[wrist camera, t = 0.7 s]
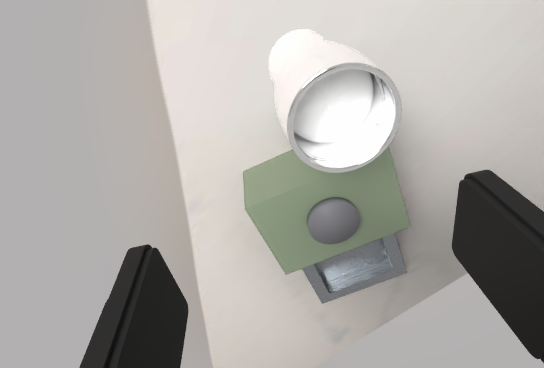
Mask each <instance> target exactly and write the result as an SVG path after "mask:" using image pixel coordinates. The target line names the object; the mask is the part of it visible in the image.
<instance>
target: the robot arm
mask: <svg viewBox="0 0 544 368" xmlns="http://www.w3.org/2000/svg"><path fill="white" fill-rule="evenodd" d="M452 249H453V252H454V255H455V256H456V258H457V259H458V260H459V262H460V263H461V264H462V266H463V267H464V268H465V269H466V271H467V272H468V273H469V274H470V276H471V277H472V278H473V280H474V281H475V282H476V284H477V285H478V286H479V288H480V289H481V290H482V292H483V293H484V294H485V295H486V297H487V298H488V299H489V300H490V302H491V303H492V305H493V306H494V307H495V308H496V310H497V311H498V312H499V314H500V315H501V316H502V318H503V319H504V320H505V322H506V323H507V324H508V325H509V327H510V328H511V329H512V331H513V332H514V333H515V335H516V336H517V337H518V339H519V340H520V341H521V342H522V344H523V345H524V346H525V348H526V349H527V350H528V351H529V353H530V354H531V355H532V356H533V357H535V358H537V359H541V360H542V361H543V362H544V212H543V211H542V210H541V209H539V208H538V207H537V206H535V205H534V204H533V203H532V202H530V201H529V200H528V199H526V198H525V197H524V196H523V195H521V194H520V193H519V192H518V191H516V190H515V189H514V188H512V187H511V186H510V185H509V184H507V183H506V182H505V181H503V180H502V179H501V178H500V177H498V176H497V175H496V174H494V173H493V172H492V171H490V170H483V171H479V172H474V173H469V174H467V175H466V176H465V177H464V180H461V181H460V183H459V190H458V198H457V206H456V215H455V223H454V231H453V240H452ZM187 318H188V304H187V301H186V299H185V298H184V296H183V294H182V292H181V290H180V289H179V287H178V285H177V283H176V281H175V279H174V278H173V276H172V274H171V272H170V270H169V269H168V267H167V265H166V263H165V261H164V259H163V258H162V256H161V254H160V252H159V250H158V249H157V248H152V247H151V246H150V245H143V246H139V247H134V248H130V249H129V250H128V251H127V254H126V256H125V259H124V261H123V264H122V266H121V269H120V271H119V274H118V276H117V279H116V281H115V284H114V286H113V289H112V291H111V294H110V296H109V299H108V300H107V302H106V303H105V306H104V308H103V311H102V313H101V315H100V318H99V320H98V323H97V325H96V328H95V330H94V333H93V335H92V338H91V340H90V343H89V345H88V348H87V350H86V353H85V355H84V358H83V360H82V363H81V365H80V368H180V365H181V359H182V351H183V345H184V338H185V331H186V324H187Z"/></svg>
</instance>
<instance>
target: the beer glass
mask: <svg viewBox="0 0 544 368" xmlns="http://www.w3.org/2000/svg"><path fill="white" fill-rule="evenodd" d="M268 70H269V74H270V77H271V80H272V81H273V83H274V85H275V86H274V102H275V107H276V112H277V116H278V119H279V121H280V124H281V126H282V129H283V131H284V133H285V134H286V136H287V138H288V140H289V142H290V144H291V147H292V149H293V150H294V152H295V153H296V155H297V156H298V157H299V158H300V159H301V160H302V161H303V162H304V163H306V164H307V165H309V166H310V167H312V168H314V169H317V170H320V171H324V172H330V173H341V172H348V171H352V170H355V169H358V168H361V167H363V166H365V165H367V164H368V163H370V162H372V161H373V160H374V159H376V158H377V157H378V156H379V155H380V154H382V153H383V152H384V150H385V149H386V148H387V147H388V146H389V144H390V143H391V141H392V140H393V138H394V136H395V134H396V132H397V130H398V127H399V124H400V120H401V111H402V108H401V99H400V95H399V92H398V90H397V87H396V85H395V84H394V82H393V81H392V80H391V78H390V77H389V76H388V75H387V74H386V73H384V72H383V71H382V70H380V69H379V68H378V67H377V66H376V65H375V64H374V63H373V62H372V61H371V60H370V59H369V58H367V57H366V56H365V55H363V54H362V53H360V52H359V51H357V50H356V49H354V48H351V47H349V46H347V45H345V44H342V43H339V42H333V41H326V40H325V39H324V38H323V37H322V36H321V35H320V34H318V33H317V32H315V31H312V30H309V29H296V30H292V31H290V32H288V33H286V34H284V35H283V36H282V37H280V38H279V39H278V40H277V42H276V43H275V44H274V46H273V48H272V50H271V52H270V55H269V60H268Z"/></svg>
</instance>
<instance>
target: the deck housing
mask: <svg viewBox="0 0 544 368" xmlns="http://www.w3.org/2000/svg"><path fill="white" fill-rule="evenodd" d="M243 180H244V201H245V210H246V212H247V213H248V215H249V216H250V218H251V220H252V221H253V223H254V224H255V226H256V228H257V229H258V231H259V232H260V234H261V235H262V237H263V239H264V240H265V242H266V243H267V245H268V247H269V248H270V250H271V251H272V253H273V255H274V256H275V258H276V259H277V261H278V263H279V264H280V266H281V267H282V269H283V271H284V272H285V274H286V275H287V274H289V273H292V272H294V271H297V270H300V269H302V268H305V267H307V266H310V265H313V264H315V263H319V262H322V261H324V260H327V259H329V258H332V257H334V256H337V255H340V254H342V253H345V252H347V251H350V250H353V249H355V248H358V247H360V246H363V245H366V244H368V243H371V242H373V241H376V240H378V239H380V238H382V237H385V236H388V235H390V234H393V233H395V232H398V231H400V230H403V229H406V228H408V227H411V226H410V222H409V219H408V215H407V211H406V208H405V204H404V200H403V197H402V193H401V190H400V186H399V182H398V179H397V175H396V171H395V168H394V164H393V161H392V157H391V153H390V150H389V147H387V148H386V149H385V150H384V152H383V153H382V154H380V155H379V156H378V157H377V158H376V159H374V160H373V161H372V162H370V163H368V164H367V165H365V166H363V167H361V168H358V169H355V170H352V171H348V172H341V173H330V172H324V171H320V170H317V169H314V168H312V167H310V166H309V165H307V164H306V163H304V162H303V161H302V160H301V159H300V158H299V157H298V156H297V155H296V153H295V152H294V150H291V151H289V152H286V153H284V154H282V155H280V156H277V157H275V158H273V159H271V160H268V161H266V162H264V163H262V164H259V165H257V166H255V167H253V168H250V169H248V170H246V171H244V172H243Z"/></svg>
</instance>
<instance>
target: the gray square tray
mask: <svg viewBox="0 0 544 368" xmlns="http://www.w3.org/2000/svg"><path fill="white" fill-rule="evenodd" d="M302 269H303V271H304V273H305V274H306V276H307V278H308V280H309V281H310V283H311V285H312V286H313V288H314V290H315V292H316V293H317V295H318V297H319V299H320V300H321V302H322V304H323V303H326V302H328V301H331V300H334V299H337V298H339V297H342V296H345V295H347V294H350V293H353V292H356V291H358V290H361V289H364V288H367V287H369V286H372V285H375V284H377V283H380V282H383V281H386V280H388V279H391V278H394V277H397V276H399V275H402V274H405V273H407V271H406V268H405V265H404V262H403V259H402V255H401V252H400V249H399V246H398V243H397V240H396V236H395V233H393V234H390V235H388V236H385V237H382V238H380V239H378V240H376V241H373V242H371V243H368V244H366V245H363V246H360V247H358V248H355V249H353V250H350V251H347V252H345V253H342V254H340V255H337V256H334V257H332V258H329V259H327V260H324V261H322V262H319V263H315V264H313V265H310V266H307V267H305V268H302Z"/></svg>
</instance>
